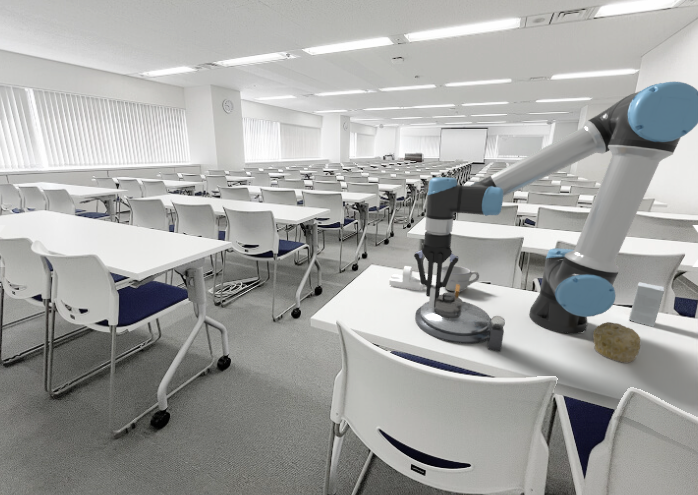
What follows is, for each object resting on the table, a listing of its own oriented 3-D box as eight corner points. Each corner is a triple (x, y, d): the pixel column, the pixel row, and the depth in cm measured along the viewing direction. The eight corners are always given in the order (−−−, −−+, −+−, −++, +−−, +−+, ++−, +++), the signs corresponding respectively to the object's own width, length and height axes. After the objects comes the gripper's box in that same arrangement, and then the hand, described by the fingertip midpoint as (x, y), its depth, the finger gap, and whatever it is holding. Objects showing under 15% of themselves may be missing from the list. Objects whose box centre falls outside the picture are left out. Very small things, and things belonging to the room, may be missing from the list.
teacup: (437, 291, 123) (439, 271, 121) (441, 281, 133) (442, 262, 130) (476, 297, 118) (479, 276, 116) (477, 286, 128) (480, 267, 125)
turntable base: (492, 312, 107) (492, 309, 106) (496, 351, 86) (497, 346, 85) (421, 301, 114) (421, 297, 114) (408, 333, 93) (409, 329, 93)
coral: (645, 360, 83) (653, 333, 81) (618, 366, 80) (626, 339, 78) (608, 341, 91) (614, 316, 89) (583, 346, 89) (589, 320, 87)
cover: (461, 308, 102) (463, 292, 101) (460, 320, 95) (462, 302, 93) (435, 304, 105) (436, 288, 103) (432, 315, 98) (434, 298, 96)
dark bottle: (500, 345, 88) (505, 315, 86) (500, 351, 85) (506, 320, 83) (487, 343, 89) (491, 312, 87) (487, 349, 86) (492, 318, 84)
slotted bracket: (388, 286, 127) (389, 267, 125) (392, 280, 134) (393, 262, 132) (422, 291, 123) (423, 271, 121) (424, 284, 130) (426, 266, 127)
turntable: (488, 308, 107) (490, 289, 105) (490, 341, 87) (494, 319, 85) (425, 298, 113) (427, 280, 111) (415, 327, 94) (417, 306, 92)
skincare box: (654, 322, 102) (664, 286, 99) (653, 327, 99) (664, 291, 96) (629, 316, 106) (638, 281, 103) (627, 320, 103) (637, 285, 100)
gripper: (462, 231, 96) (454, 304, 102) (417, 227, 100) (412, 298, 107) (461, 237, 89) (452, 315, 96) (413, 232, 93) (408, 307, 100)
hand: (431, 306), depth 101 cm, fingers closed
